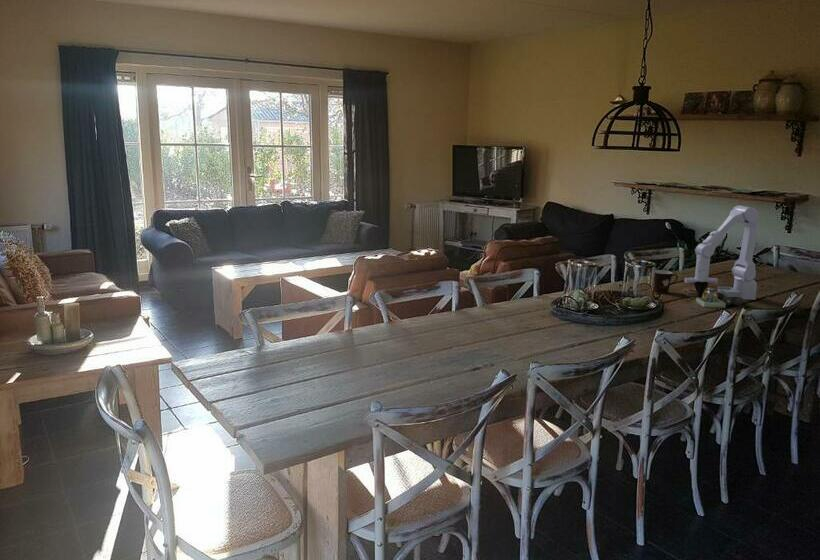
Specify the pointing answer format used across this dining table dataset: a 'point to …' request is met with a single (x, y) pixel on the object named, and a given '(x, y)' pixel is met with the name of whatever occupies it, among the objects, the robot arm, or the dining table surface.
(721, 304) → the tray
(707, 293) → the block
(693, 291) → the pin socket
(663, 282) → the coffee mug
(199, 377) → the dining table surface
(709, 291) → the stop pin
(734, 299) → the trolley
